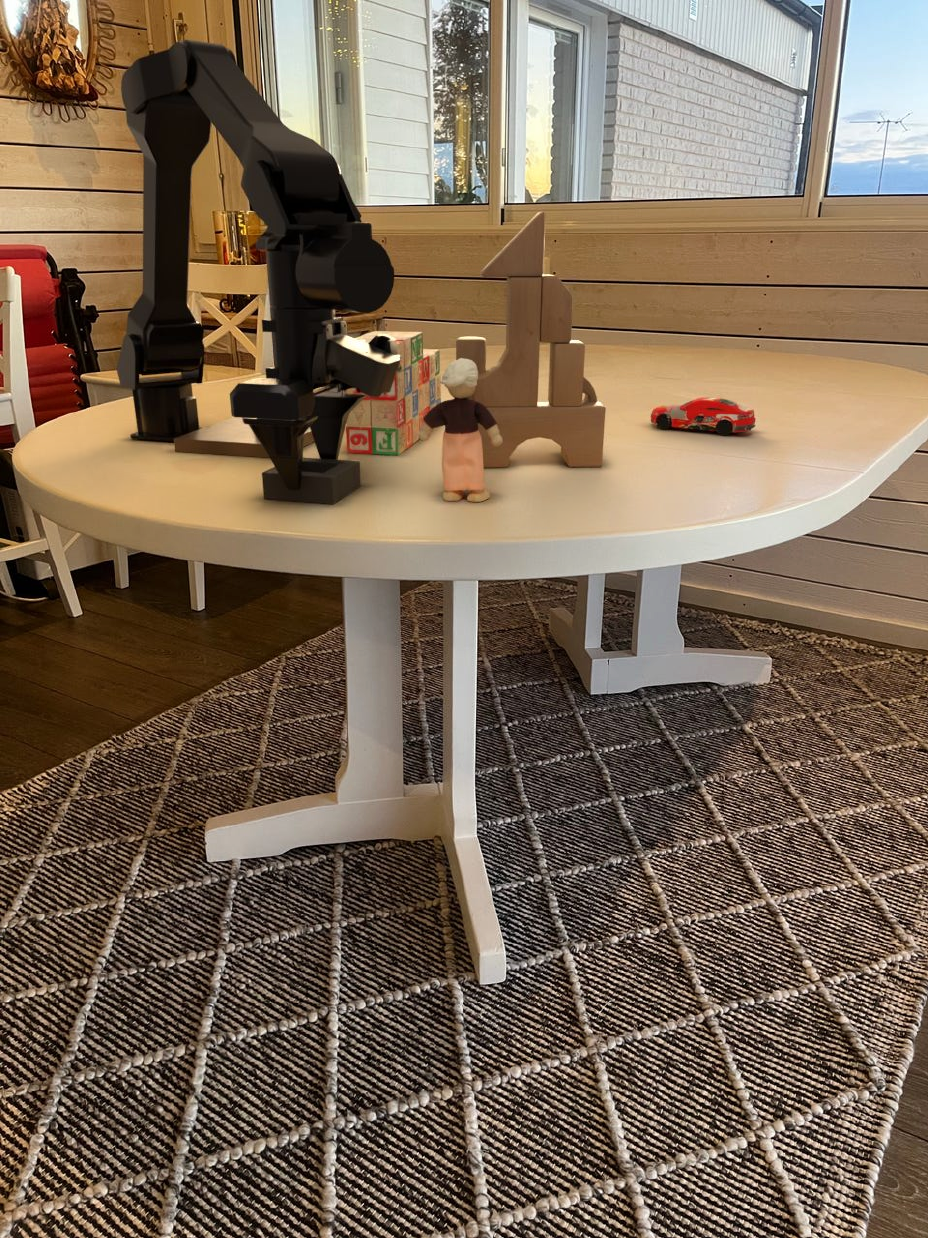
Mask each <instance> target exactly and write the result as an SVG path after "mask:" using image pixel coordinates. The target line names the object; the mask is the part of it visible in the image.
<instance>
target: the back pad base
mask: <svg viewBox="0 0 928 1238" xmlns="http://www.w3.org/2000/svg"><path fill="white" fill-rule="evenodd" d="M201 428H202V429H199V430H196V431H194V432H191V433H188V434H185V435H182V436H180V437H177V438H174V441H173V445H174V451H175V452H177V453H178V452H179V453H193V454H206V455H209V454H210V455H221V456H238V457H252V458H253V457H254V458H266V459H267V458H268V459H270V458H269V456H268V454H267V452H266V451H265V449H264V448H263V446H262V444H261V443H260V441H259V440H258V438H257V437H256V435H255V434H254V432H253V431H252V429H251V428H250V426H249V425H248V424H244V423H243V420H242V418H240V417H233V416H232V417H230V418H227V419H225V420H222V421H219V422H216V423H214V424H211V425H207V426H205V427H201ZM312 443H315V441H314V438H313V435H312V432H311V429H310V427H309V428H308V429H307V431H306V432H305V433H304V442H303V448H304V447H306V446H308V445H310V444H312Z"/></svg>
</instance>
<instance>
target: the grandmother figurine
mask: <svg viewBox="0 0 928 1238" xmlns="http://www.w3.org/2000/svg"><path fill="white" fill-rule="evenodd" d="M441 376H442V377H441V385H444V387H445V388H446V389H447V391H448V393H449V395H450V396H451V397H452V398H451V399H448V400H444V401H441V403H439V404H438V405H436V406H435V407H433V408H432V409H431V410H430V411H429V412H428V413H427V414H426V415H425V417H424V418H423V420H424V422H423V425H422V429H421V431H420V432H419V434H418V436H419V440H421V441H424V442H425V441H428V440H430V439H429V438H430V435H431V433H432V432H433V430H434V429H436V428H440V427H444V431H443V434H442V444H441V445H442V446H441V470H442V479H443V483H442V484H443V489H444V492H443V494H442V498H443V500H444V501H445V502H459V501H461V500H462V499H463V498H464V497H465V493H464V491H467V490H469V492H470V493H469V494H468V495H467V498H466V501H467V502H474V503H479V502H483V501H485V500H488V499H490V498H491V493H490V492H489V490H488V489H486V488H485V469H484V467H483V449H482V439H481V435H480V432H479V428H478V423H479V424H481V425H482V426H483V427H484V429H485V430H487V432H488V435H489V436H490V437H491V442H492V444H493V445H494V446H499V445H501V444H502V442H503V439H502V437H501V436H500V435H499V429H498V427H497V422H496V420H495V419H494V418H493V416H492V415H491V413H490V412H489V410H488V409H487V408H486V407H485V406H484V405H483V404H482V403H480V402H478V401H475V400H471V399H468V398H469V397H470V396H471V395H473V393H474V391H475V387H476V385H477V379H478V369H477V366H476V364H475V363H474V362H473V361H472V360H469V359H463V358H460V359H458V360H456V359H455V360H453V361H452V362H451V363H450V364H448V365H447V366H446V369H445V370H444V372H443V373H442V375H441Z"/></svg>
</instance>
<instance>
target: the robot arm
mask: <svg viewBox="0 0 928 1238" xmlns="http://www.w3.org/2000/svg"><path fill="white" fill-rule="evenodd" d="M120 83H121V84H120V93H121V100H122V104H123V106H124V108H125V115H126V116H125V117H126V125H127V127H128V129H129V131H130V132H131V135H132V136H133V138H134V140H135V142H136V144H137V146H138V147H139V149H140V152H141V154H142V158H143V159H142V160H143V169H142V170H143V174H142V175H143V177H142V178H143V180H142V181H143V182H142V186H143V187H142V189H143V190H142V193H143V194H142V292H141V295H140V296H139V297H138V299H137V301H136V302H135V304H133V306H132V308H131V309H130V311H129V312H128V314H127V318H126V329H125V330H126V332H125V335H124V336H123V340H122V343H121V347H120V351H119V355H118V359H117V363H116V373H117V377H118V381H119V385H120V386H121V387H124V388H128V389H131V391H132V400H133V407H134V414H135V421H136V422H135V423H136V429H137V431H136V432H133V433H131V434H130V435H129V436H130V439H133V440H146V441H147V440H148V441H149V440H150V441H163V442H174V438H177V437H180V436H182V435H185V434H188V433H191V432H194V431H196V430H199V429H202V428H203V427H200V422H199V412H198V403H197V397H196V396H194V394H193V386H192V385H193V384H197V385H198V384H199V385H200V384H203V377H204V367H205V366H204V365H205V349H206V348H205V344H204V334H205V330H204V327H203V326H202V323H200V322H199V321H198V320H197V319H198V318H197V317H196V316H195V314H194V312H193V311H192V308H191V307H190V306H189V300H188V297H189V296H188V295H189V270H190V267H189V265H190V243H191V242H190V241H191V240H190V239H191V217H192V216H191V212H192V211H191V210H192V189H193V188H192V185H193V167H194V165H195V164H196V162H197V161H198V159H199V158H200V157H201V155H202V153H203V152H204V151H205V149H206V148H207V146H208V145H209V143H210V141H211V132H212V125H213V127H214V128H215V129H216V131H217V132H218V133H219V135H220V136H221V137H222V139H223V140H224V141H225V143H226V144H227V146H228V147H229V148H230V150H231V151H232V152H233V154H234V155H235V156H236V158H237V160H238V161H239V164H240V165H241V166H242V175H241V181H240V187H241V190H242V191H243V193H244V194H245V196H246V198H247V200H248V202H249V204H250V206H251V208H252V209H253V211H254V214H256V216H257V217H258V219H260V220H261V221H262V222H263V223H264V224H265V226H266V229H265V231H263V233H262V234H260V236H258V238H257V240H256V243H255V248H256V250H258V251H263V252H264V251H265V259H266V273H267V275H266V276H267V286H268V301H269V315H270V317H269V318H264V319H261V326H262V327H261V328H262V329H261V330H262V332H263V333H271V344H272V356H273V357H272V359H273V365H271V366H268V367H265V368H264V369H265V377H255V378H250V379H248V380H244V381H241V382H238V383H237V384H236V385H235V386H234V388H233V389H232V390H231V391H230V393H229V401H230V413H231V417H232V418H233V417H240V418H242V420H243V423H244V424H248V425H249V426H250V428H251V429H252V431H253V432H254V434H255V435H256V437H257V438H258V440H259V441H260V443H261V444H262V446H263V448H264V449H265V451H266V452H267V454H268V456H269V458H268V459H269V460H270V461H271V463H272V464H273V467H275V468H276V470H277V472H278V473H279V475H280V477H281V479H282V480H283V482H284V484H285V486H286V487H287V489H288V490H292V491H298V490H299V489H300V486H301V477H302V460H303V458H304V447H303V442H304V433H305V432H306V431H307V429H308V428H309V427H310V429H311V432H312V435H313V438H314V444H315V447H316V450H317V453H318V456H319V459H333V460H339V456H340V451H341V447H342V444H343V439H344V434H345V431H346V422H347V419H348V415H349V413H350V412H351V411H352V410H353V409H354V408H355V407H356V406H357V405H358V404H359V403H360V402H361V401H363V400H364V399H365V397H366V395H368V396H372V397H379V396H381V395H382V393H384V392H387V393H388V392H390V391H391V388H392V384H393V381H394V378H395V375H396V373H398V372H400V371H401V369H402V366H401V364H400V360H401V357H402V356H400V355H398V351H397V344H396V339H394V338H392V337H389V336H387V335H385V334H380V335H376V336H375V337H374V338H373V339H372V340H371V341H370V342H369V343H366V341H365V340H363V339H362V340H357V339H355V338H354V337H352V336H349V335H348V329H347V328H348V326H347V322H346V321H345V320H344V317H341V316H340V317H339V316H336V311H340V312H349V313H356V314H357V313H358V314H370V313H373V312H377V311H378V310H379V309H381V308H382V307H383V306H384V305H385V304H386V303H387V302H388V301H389V299H390V296H391V295H392V292H393V288H394V286H395V285H394V284H395V268H394V266H393V265H392V261H391V258H390V255H388V252H387V250H386V249H385V248H384V247H383V245H382V244H380V243H379V242H378V241H377V240H375V239H373V224H372V223H371V222H366V221H365V222H364V221H363V222H362V219H361V218H362V214H361V212H360V210H359V209H358V208H357V206H356V203H354V199H353V198H352V196H351V192H350V191H349V189H348V185H347V184H346V181H345V179H344V176H343V174H342V172H341V168H340V166H339V164H338V162H337V160H336V158H335V157H334V155H332V153H331V152H329V151H328V150H327V149H326V148H324V147H323V146H322V145H320V144H319V143H318V142H317V141H316V140H314V139H312V138H310V137H308V136H305V135H303V134H301V133H299V132H297V131H294V130H292V129H291V128H289V127H288V126H286V125H285V124H284V123H283V121H282V120H281V119H280V118H279V116H278V115H277V113H275V111H274V110H273V109H272V108H271V107H270V105H269V104H268V103H267V101H266V100H265V99H264V97H263V96H262V95H261V94H260V92H259V91H258V90H257V88H255V86H254V85H253V84H252V82H251V81H250V80H249V79H248V77H247V75H245V73H244V72H243V71H242V70H241V68H240V66H238V64H237V60H236V56H235V54H234V52H233V51H232V50H231V49H230V48H227V47H226V46H225V45H223V44H221V43H213V42H208V41H200V40H193V39H182V40H181V41H176V42H174V43H173V44H172V45H171V46H169V48H167V49H164V50H162V51H158V52H155V53H152V54H151V53H150V54H148V55H145V56H142V57H139V58H137V59H135V60H134V61H133V62H132V64H131V65H130V66H129V67H128V68H127V69H126V70H125V71H124V72H123V74H122V77H121V81H120ZM178 373H179V374H178ZM140 376H143V377H140ZM353 388H356V389H357V391H358V392H361V393H363V394H353ZM364 394H366V395H364Z"/></svg>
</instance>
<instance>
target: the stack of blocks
mask: <svg viewBox="0 0 928 1238" xmlns="http://www.w3.org/2000/svg"><path fill="white" fill-rule="evenodd" d="M380 334H385V335H387V336H389V337H392V338H394V339H396V344H397V351H398V355H400V356H402V357H401V360H400V364H401V366H402V369H401V371H400V372H398V373H396V375H395V378H394V381H393V384H392V388H391V391H390V392H388V393H387V392H384V393H382V395H381V396H379V397H372V396H368V395H366V394H364V395H366V397H365V399H364V400H363V401H361V402H360V403H359V404H358V405H357V406H356V407H355V408H354V409H353V410H352V411H351V412H350V413H349V415H348V419H347V422H346V426H345V436H346V452H347V454H362V455H364V454H366V455H372V454H374V455H384V456H386V455H387V456H399V455H401V454H402V453H403V452H405V451H406V450H407V449H409V448H410V447H411V446H412V445H413V444H415V443H416V442H417V441H418V440H420V438H419V436H418V434H419V432H420V431H421V429H422V425H423V422H424V420H423V418H424V417H425V415H426V414H427V413H428V412H429V411H430V410H431V409H432V408H433V407H435V406H436V405H438V404H439V403H441V402H442V383H441V382H442V377H441V376H442V375H441V373H440V372H441V369H440V368H441V365H440V364H441V361H440V359H441V355H440V353H441V351H440V349H434V348H433V349H431V348H424V332H423V331H389V330H387V331H386V330H385V331H384V330H374V331H370V332H367V333H365V334H362V335H359V336H358V337H355V338H354V339H357V340H362V339H363V340H365V341H366V343H369V342H370V341H371V340H372V339H373V338H374V337H375V336H376V335H380ZM353 394H363V393H361V392H358V391H357V389H356V388H353Z"/></svg>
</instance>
